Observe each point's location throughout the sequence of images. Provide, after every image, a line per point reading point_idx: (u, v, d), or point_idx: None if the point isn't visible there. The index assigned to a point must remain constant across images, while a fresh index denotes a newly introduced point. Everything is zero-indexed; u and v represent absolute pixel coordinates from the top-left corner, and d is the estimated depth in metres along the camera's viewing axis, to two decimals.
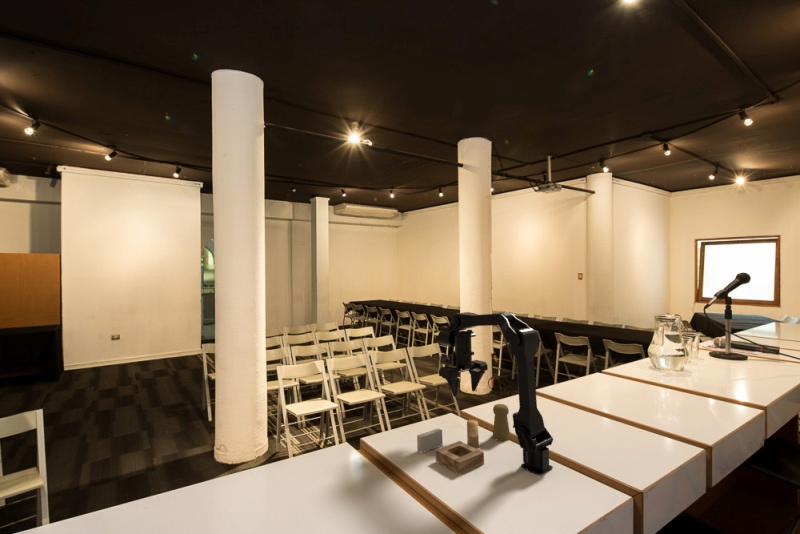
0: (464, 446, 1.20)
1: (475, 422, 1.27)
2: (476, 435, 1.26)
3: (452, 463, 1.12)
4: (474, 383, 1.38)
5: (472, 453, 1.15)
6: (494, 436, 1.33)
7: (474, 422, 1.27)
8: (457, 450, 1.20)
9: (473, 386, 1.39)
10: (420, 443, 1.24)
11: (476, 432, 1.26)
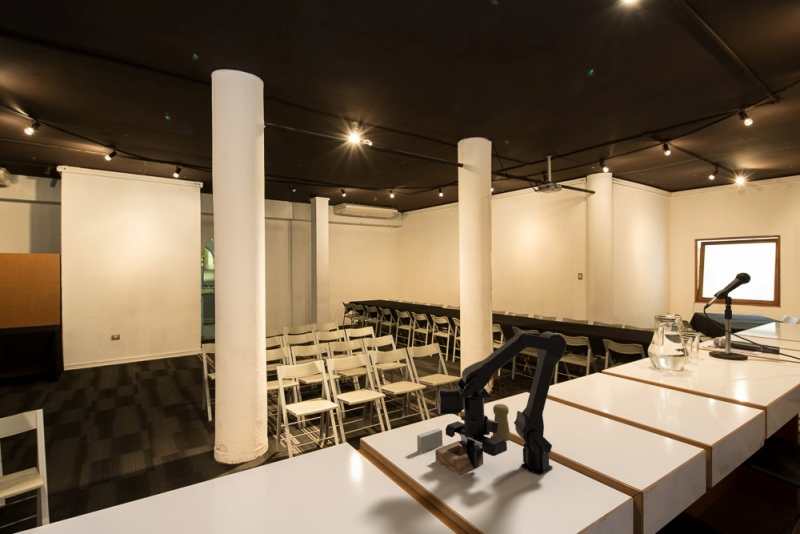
0: None
1: None
2: None
3: (451, 463, 1.13)
4: None
5: None
6: None
7: None
8: (457, 450, 1.21)
9: None
10: (420, 443, 1.24)
11: None
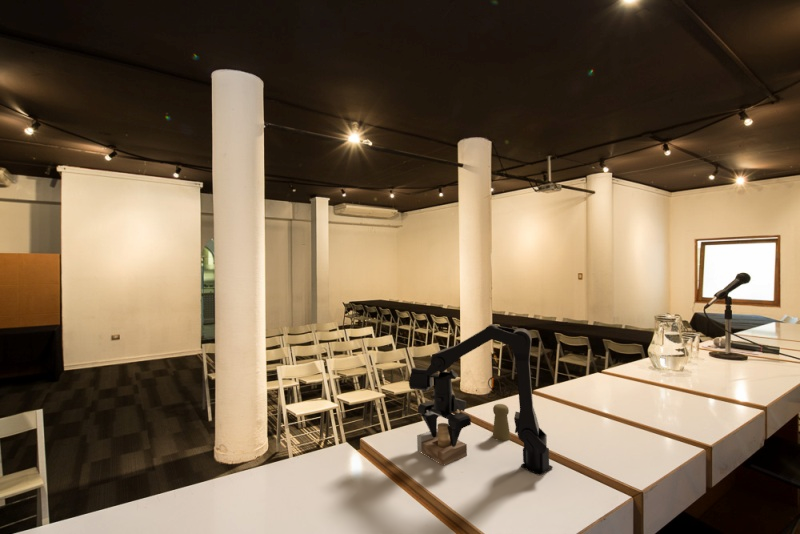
0: None
1: (446, 425, 1.22)
2: (447, 439, 1.21)
3: (436, 454, 1.18)
4: None
5: None
6: (494, 436, 1.33)
7: (445, 425, 1.23)
8: None
9: None
10: (420, 443, 1.24)
11: (447, 435, 1.21)
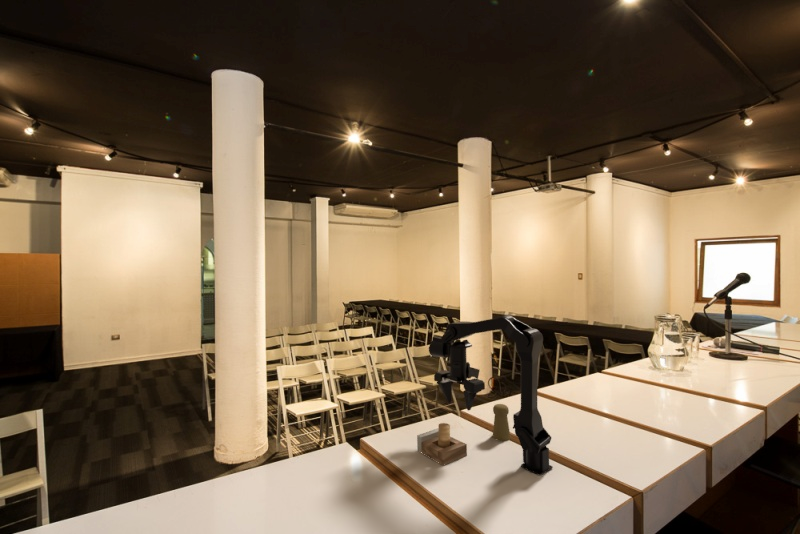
0: None
1: (447, 425, 1.22)
2: (447, 439, 1.21)
3: (436, 454, 1.18)
4: None
5: (455, 445, 1.21)
6: (494, 436, 1.33)
7: (446, 425, 1.22)
8: None
9: None
10: (420, 443, 1.24)
11: (447, 436, 1.21)
